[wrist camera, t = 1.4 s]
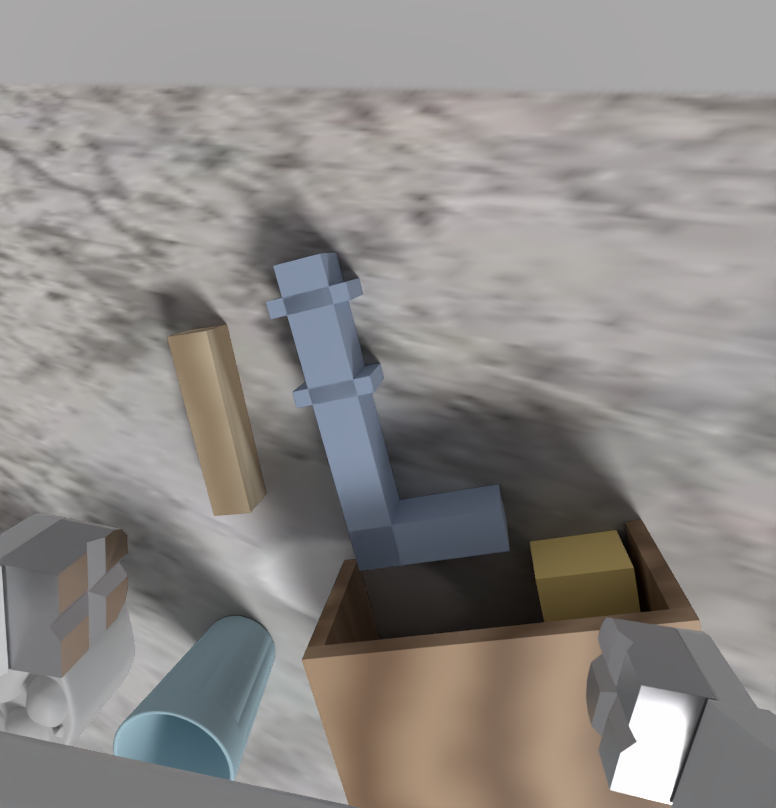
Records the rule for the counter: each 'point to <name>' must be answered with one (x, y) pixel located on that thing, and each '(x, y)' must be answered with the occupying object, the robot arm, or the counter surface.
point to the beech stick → (218, 418)
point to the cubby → (473, 702)
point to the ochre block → (584, 577)
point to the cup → (203, 703)
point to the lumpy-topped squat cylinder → (68, 689)
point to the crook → (371, 433)
